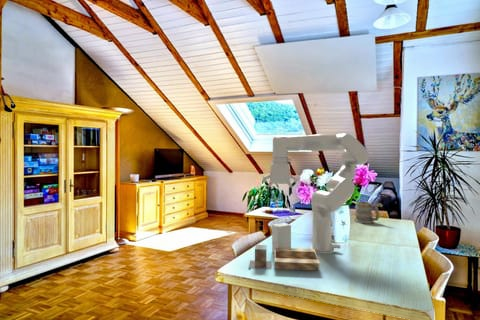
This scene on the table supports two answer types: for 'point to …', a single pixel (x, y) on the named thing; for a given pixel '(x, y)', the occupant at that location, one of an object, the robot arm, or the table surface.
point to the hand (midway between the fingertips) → (280, 195)
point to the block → (260, 256)
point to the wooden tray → (295, 259)
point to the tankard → (366, 212)
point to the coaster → (252, 265)
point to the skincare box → (281, 236)
